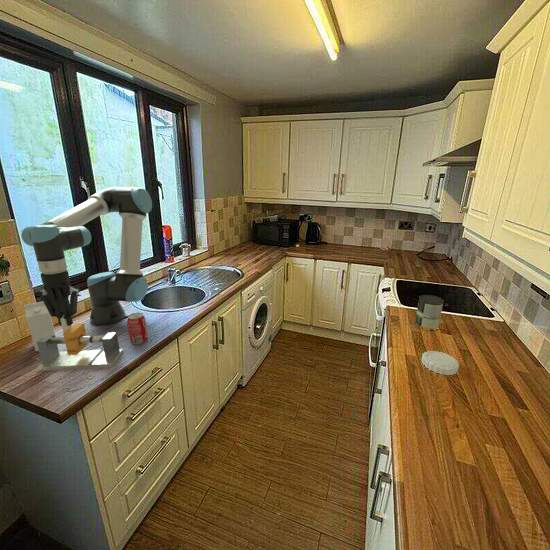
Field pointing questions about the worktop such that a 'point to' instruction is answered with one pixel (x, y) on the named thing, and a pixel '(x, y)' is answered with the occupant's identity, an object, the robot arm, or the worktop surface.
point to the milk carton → (39, 321)
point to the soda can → (137, 328)
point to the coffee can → (429, 311)
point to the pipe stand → (84, 358)
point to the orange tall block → (74, 338)
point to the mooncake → (440, 362)
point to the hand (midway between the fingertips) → (68, 333)
